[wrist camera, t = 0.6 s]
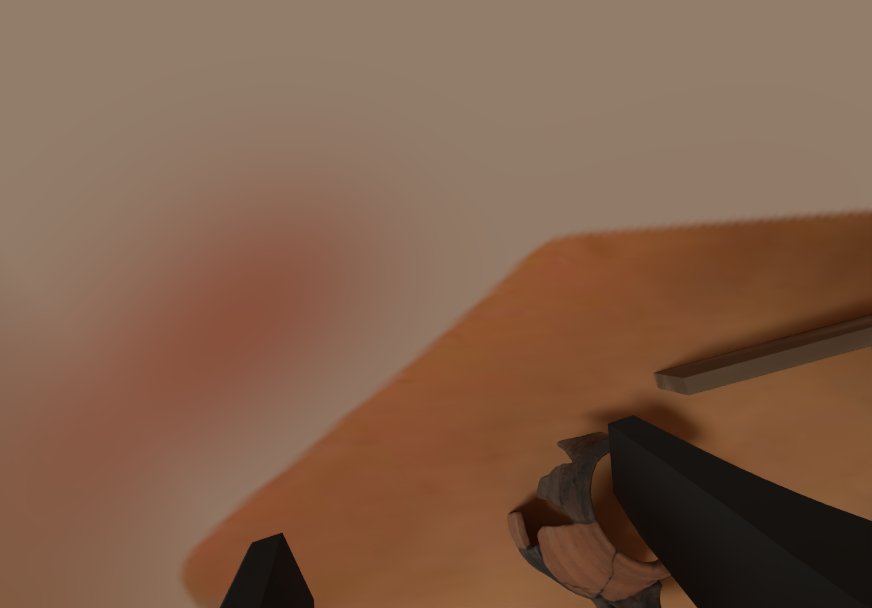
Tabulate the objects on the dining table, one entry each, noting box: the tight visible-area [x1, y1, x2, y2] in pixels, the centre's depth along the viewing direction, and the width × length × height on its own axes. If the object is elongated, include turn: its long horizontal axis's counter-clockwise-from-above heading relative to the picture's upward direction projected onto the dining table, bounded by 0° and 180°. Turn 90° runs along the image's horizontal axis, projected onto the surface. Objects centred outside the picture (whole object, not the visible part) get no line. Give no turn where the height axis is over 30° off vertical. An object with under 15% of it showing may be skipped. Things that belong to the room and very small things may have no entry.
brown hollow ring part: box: [508, 432, 671, 608], centre depth 29 cm, size 12×10×8 cm
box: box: [654, 314, 872, 395], centre depth 28 cm, size 16×16×5 cm
